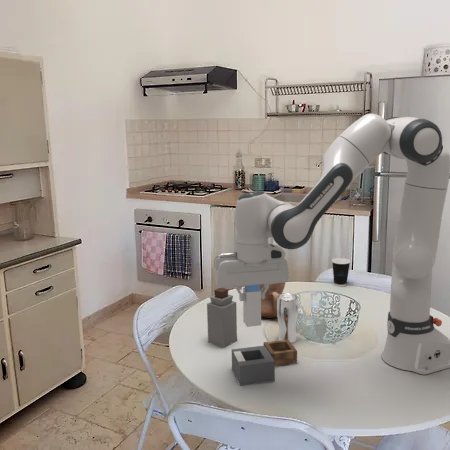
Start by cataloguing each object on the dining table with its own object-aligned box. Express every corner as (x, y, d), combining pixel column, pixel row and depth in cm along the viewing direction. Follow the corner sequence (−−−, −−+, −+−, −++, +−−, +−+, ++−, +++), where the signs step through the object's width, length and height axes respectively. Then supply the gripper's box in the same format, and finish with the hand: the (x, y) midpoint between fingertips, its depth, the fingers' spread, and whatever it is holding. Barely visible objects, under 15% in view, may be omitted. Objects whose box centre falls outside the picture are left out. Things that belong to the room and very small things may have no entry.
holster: (288, 351, 155) (288, 339, 154) (297, 363, 147) (297, 350, 147) (263, 354, 153) (263, 342, 153) (271, 366, 146) (271, 354, 145)
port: (264, 364, 147) (264, 344, 146) (274, 380, 138) (274, 360, 137) (231, 368, 145) (231, 348, 144) (240, 385, 136) (239, 365, 134)
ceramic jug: (246, 306, 192) (245, 272, 189) (282, 303, 194) (282, 269, 191) (256, 326, 175) (255, 288, 172) (295, 322, 177) (296, 285, 174)
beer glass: (297, 345, 159) (297, 301, 156) (275, 343, 161) (275, 299, 157) (298, 335, 166) (298, 293, 163) (277, 334, 167) (277, 292, 164)
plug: (257, 319, 141) (256, 279, 138) (260, 325, 137) (260, 284, 134) (243, 321, 140) (243, 280, 137) (247, 326, 136) (246, 285, 133)
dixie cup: (340, 280, 220) (341, 257, 217) (353, 285, 213) (354, 261, 210) (327, 284, 216) (327, 259, 213) (339, 289, 209) (340, 264, 207)
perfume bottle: (236, 340, 163) (236, 289, 159) (223, 348, 158) (222, 294, 154) (221, 335, 167) (220, 284, 164) (208, 342, 162) (206, 290, 158)
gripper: (216, 257, 129) (217, 307, 132) (291, 251, 133) (290, 300, 136) (211, 251, 135) (213, 298, 138) (283, 245, 139) (283, 292, 142)
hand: (252, 299), depth 137 cm, fingers closed on plug, 4 cm apart
